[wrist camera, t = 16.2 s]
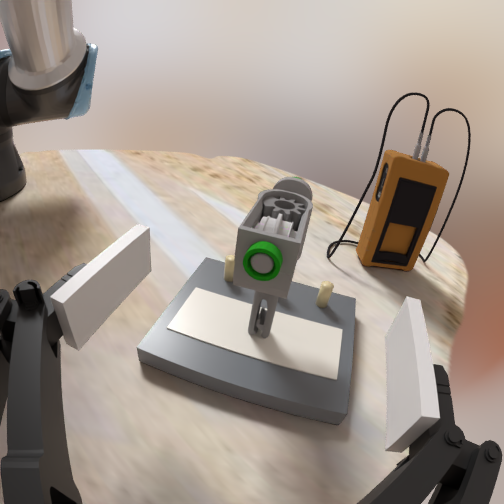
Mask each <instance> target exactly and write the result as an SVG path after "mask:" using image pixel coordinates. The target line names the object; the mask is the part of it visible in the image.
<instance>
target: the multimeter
mask: <svg viewBox="0 0 504 504" xmlns="http://www.w3.org/2000/svg"><path fill="white" fill-rule="evenodd" d="M410 95H419V96H422V97H424V98H425V99H426V100H427V109H426V113H425V117H424V121H423V126H422V130H421V133H420V135H419V139H418V143H417V144H416V146H415V150H414V154H413V156H410V155H406V154H403V153H399V152H397V151H393V150H386V151H385V153H384V157H383V161H382V164H381V168H380V172H379V176H378V179H377V183H376V186H375V190H374V193H373V197H372V200H371V203H370V207H369V210H368V213H367V217H366V220H365V223H364V227H363V230H362V233H361V236H360V240H359V242H355V241H350V240H342V239H343V237H344V235H345V233H346V231H347V230H348V228H349V226H350V224H351V222H352V220H353V218H354V216H355V214H356V212H357V210H358V208H359V206H360V204H361V202H362V200H363V198H364V196H365V194H366V192H367V190H368V188H369V186H370V185H371V183H372V181H373V179H374V176H375V174H376V171H377V168H378V165H379V161H380V158H381V154H382V150H383V146H384V141H385V136H386V132H387V127H388V123H389V120H390V117H391V115H392V112H393V110H394V109H395V107H396V106H397V104H398V103H399V102H400V101H401V100H402V99H404V98H405V97H407V96H410ZM428 111H429V100H428V98H427V97H426V96H425V95H423V94H421V93H408V94H406V95H404V96H402V97H401V98H399V99H398V100H397V101H396V103H395V104H394V105H393V107H392V109H391V111H390V113H389V115H388V118H387V121H386V125H385V129H384V134H383V139H382V144H381V148H380V152H379V156H378V159H377V163H376V166H375V170H374V172H373V175H372V178H371V179H370V181H369V183H368V185H367V187H366V189H365V191H364V193H363V195H362V197H361V199H360V201H359V203H358V205H357V207H356V209H355V211H354V213H353V215H352V217H351V219H350V221H349V223H348V225H347V226H346V228H345V230H344V232H343V234H342V236H341V237H340V239H339V241H335V242H333V243H331V244H330V245H329V247H328V250H327V257H328V258H330V257H331V256H332V255H333V253H334V252H335V250H336V249H337V247H338V246H339V244H340V242H351V243H355V244H358V246H357V248H356V252H357V254H358V256H359V258H360V260H361V262H362V264H363V265H364V266H368V267H370V266H379V267H387V268H395V269H402V270H403V271H410V270H412V269H413V267H414V265H415V263H416V260H417V258H418V256H420V257H421V258H422V260H423V261H424V262H426V261H427V259H428V258H429V256H430V254H431V253H432V251H433V249H434V247H435V245H436V243H437V241H438V239H439V237H440V235H441V233H442V231H443V229H444V227H445V224H446V222H447V220H448V217H449V215H450V213H451V210H452V208H453V205H454V203H455V200H456V198H457V195H458V192H459V190H460V187H461V184H462V181H463V177H464V174H465V170H466V166H467V161H468V156H469V150H470V135H471V134H470V126H469V123H468V120H467V118H466V117H465V115H464V114H463V113H462V112H460V111H458V110H456V109H452V108H447V109H443V110H441V111H439V112H438V113H437V114H436V115H435V116H434V118H433V120H432V124H431V128H430V133H429V135H428V138H427V141H426V145H425V147H424V149H423V152H422V156H421V159H420V158H418V156H419V153H420V149H421V141H422V137H423V131H424V127H425V123H426V119H427V115H428ZM445 111H455V112H458V113H459V114H461V115H462V116H463V117H464V118H465V120H466V123H467V126H468V134H469V135H468V136H469V137H468V138H469V139H468V150H467V156H466V162H465V166H464V170H463V174H462V177H461V180H460V184H459V187H458V190H457V192H456V195H455V198H454V200H453V203H452V205H451V208H450V210H449V212H448V215H447V217H446V219H445V222H444V224H443V226H442V228H441V231H440V233H439V235H438V237H437V239H436V241H435V243H434V245H433V247H432V249H431V251H430V252H429V254H428V256H427V257H426V259H425V260H424V258H423V257H422V256H421V255H420V251H421V249H422V247H423V244H424V242H425V239H426V237H427V235H428V233H429V231H430V228H431V226H432V223H433V220H434V218H435V215H436V212H437V210H438V206H439V203H440V200H441V198H442V195H443V192H444V189H445V186H446V183H447V180H448V176H449V173H448V171H447V170H445V169H444V168H442V167H441V166H439V165H438V164H436V163H434V162H432V161H431V162H430V161H427V160H426V158H427V155H428V151H429V143H430V140H431V134H432V130H433V125H434V121H435V119H436V117H437V116H438V115H439V114H441V113H442V112H445ZM335 243H337V244H336V246H335V248H334V249H333V251H332V252H331V254H330V255H329V250H330V247H331V246H332V245H333V244H335Z"/></svg>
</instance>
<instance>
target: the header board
mask: <svg viewBox="0 0 504 504" xmlns="http://www.w3.org/2000/svg"><path fill="white" fill-rule="evenodd" d="M234 259H235V256H233V255H229V256H227V257H226V260H225V262H221V261H218V260H214V259H211V258H207V257H206V258H205V259H204V261H203V262H202V263H201V264H200V266H199V267H198V268H197V270H196V271H195V272H194V273H193V275H192V276H191V277H190V278H189V280H188V281H187V282H186V284H185V285H184V286H183V287H182V289H181V290H180V291H179V293H178V294H177V295H176V296H175V298H174V299H173V300H172V302H171V303H170V304H169V305H168V307H167V308H166V309H165V311H164V312H163V313H162V315H161V316H160V317H159V319H158V320H157V321H156V322H155V324H154V325H153V326H152V328H151V329H150V330H149V332H148V333H147V334H146V336H145V337H144V338H143V340H142V341H141V342H140V344H139V345H138V346H137V351H138V357H139V361H141V362H143V363H145V364H147V365H150V366H152V367H154V368H157V369H159V370H162V371H164V372H166V373H169V374H171V375H174V376H176V377H179V378H181V379H184V380H187V381H189V382H192V383H195V384H197V385H200V386H203V387H205V388H208V389H211V390H214V391H217V392H220V393H223V394H226V395H229V396H232V397H235V398H238V399H241V400H244V401H247V402H251V403H254V404H257V405H260V406H264V407H267V408H271V409H274V410H278V411H282V412H285V413H289V414H293V415H297V416H301V417H305V418H309V419H314V420H318V421H322V422H327V423H331V424H336V425H339V424H340V423H341V422H342V420H343V419H344V418H345V416H346V415H347V410H348V402H349V392H350V382H351V371H352V359H353V345H354V327H355V304H356V299H355V298H352V297H348V296H344V295H340V294H337V293H333V292H332V290H333V287H334V285H333V284H332V283H331V282H328V281H324V282H322V284H321V287H320V289H318V288H314V287H311V286H307V285H303V284H300V283H296V282H293V281H291V285H290V289H289V292H288V296H287V299H285V298H281V297H279V298H278V302H277V306H276V310H275V314H274V318H273V322H272V326H271V330H270V334H269V336H268V337H267V338H265V339H264V338H263V337H262V336H261V335H262V331H261V330H260V329H259V328H258V330H257V333H256V334H254V335H249V333H248V326H249V320H250V315H251V309H252V304H253V298H254V293H255V290H251V289H247V288H244V287H240V286H236V285H234V284H233V273H234V265H235V261H234ZM263 305H265V310H267V301H266V300H264V299H263V300H262V302H261V307H260V311H261V309H262V306H263ZM259 314H260V312H259Z"/></svg>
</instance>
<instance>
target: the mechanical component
mask: <svg viewBox="0 0 504 504" xmlns="http://www.w3.org/2000/svg"><path fill="white" fill-rule="evenodd" d="M311 201H312V191H311V188H310V186H309V185H308V184H307V183H306V182H305V181H303V180H302V179H300V178H298V177H285V178H282V179H280V180H279V181H278V182H277V183H276V184H275V186H274V188H273V189H270V190H265V191H262V192H260V193H259V195H258V200H257V202H256V203H255V205H254V206H253V208H252V209H251V210H250V212H249V213H248V215H247V216H246V218H245V219H244V221H243V222H242V224H241V225H240V227H239V228H238V235H237V243H236V251H235V259H234V261H235V265H234V273H233V284H234V285H236V286H240V287H244V288H247V289H251V290H255V293H254V298H253V304H252V309H251V315H250V320H249V326H248V333H249V335H254V334H256V333H257V330H258V328H259V329H260V330H261V331H262V335H261V336H262V337H263V338H264V339H265V338H267V337H268V336H269V334H270V330H271V326H272V322H273V318H274V314H275V310H276V306H277V302H278V298H279V297H281V298H285V299H287V296H288V292H289V289H290V285H291V281H292V278H293V274H294V270H295V266H296V262H297V260H298V259H299V258H300V257H301V253H302V249H303V245H304V241H305V237H306V233H307V229H308V224H309V220H310V216H311V212H312V208H313V204H312V202H311ZM263 299H264V300H266V301H267V310H265V305H263V306H262V309H261V311H260V307H261V302H262V300H263ZM259 312H260V314H259Z"/></svg>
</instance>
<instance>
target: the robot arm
mask: <svg viewBox="0 0 504 504" xmlns="http://www.w3.org/2000/svg"><path fill="white" fill-rule="evenodd" d="M0 20H1V24H2V27H3V30H4V33H5V36H6V39H7V42H8V44H9V47H10V49H6V50H0V201H2V200H4V199H6V198H8V197H10V196H12V195H13V194H15V193H16V192H18V191H19V190H20V189H22V188H23V187H24V185H25V184H26V173H25V168H24V166H23V163H22V161H21V159H20V156H19V154H18V151H17V149H16V147H15V144H14V141H13V133H12V126H17V125H22V124H28V123H35V122H41V121H48V120H56V119H69V118H71V117H78V116H83V115H85V114H86V113H87V112H88V111H89V109H90V102H91V93H92V85H93V78H94V71H95V64H96V58H97V51H98V47H97V45H93V44H86V41H85V38H84V36H83V34H82V33H81V32H80V31H78V30H76V29H75V28H73V17H72V1H71V0H0ZM150 272H151V255H150V228H149V227H146V226H143V225H139V224H137V225H136V226H134V227H133V228H132V229H130V230H129V231H128V232H127V233H125V234H124V235H123V236H121V237H120V238H119V239H118V240H116V241H115V242H114V243H113V244H111V245H110V246H109V247H108V248H106V249H105V250H104V251H103V252H102V253H100V254H99V255H98V256H97V257H95V258H94V259H93V260H92V261H91V262H89V263H88V264H85V263H83V264H81V265H78V266H76V267H74V268H73V269H72V270H70V271H69V272H68V273H67V275H65V276H63V277H62V278H61V280H59V281H58V282H56V283H55V284H54V285H53V286H52V287H51V288H49V289H48V290H47V291H46V292H45V293H44V294H42V291H41V288H40V284H39V283H38V282H37V281H35V280H25V281H22V282H20V283H19V284H17V285H16V286H15V288H14V290H13V293H14V296H15V299H16V300H12V299H11V298H10V295H9V293H8V292H7V291H6V290H3V289H0V424H1V420H2V416H3V412H4V408H5V404H6V400H7V397H8V400H7V445H8V453H7V456H5V457H3V458H2V460H1V479H2V489H3V497H4V504H82V500H81V496H80V493H79V491H78V489H77V487H76V485H75V483H74V480H73V477H72V472H71V466H70V460H69V454H68V448H67V440H66V433H65V424H64V414H63V403H62V388H61V360H60V341H59V339H60V338H61V337H62V336H64V338H65V341H66V344H68V345H70V346H71V347H73V348H75V349H77V350H78V351H79V350H80V349H81V348H82V346H83V345H84V344H85V343H86V342H87V341H88V340H89V338H90V337H91V336H92V335H93V334H94V333H95V332H96V330H97V329H98V328H99V327H100V326H101V325H102V324H103V323H104V321H105V320H106V319H107V318H108V317H109V316H110V315H111V314H112V313H113V311H114V310H115V309H116V308H117V307H118V306H119V305H120V304H121V303H122V302H123V301H124V299H125V298H126V297H127V296H128V295H129V294H130V293H131V292H132V291H133V290H134V289H135V288H136V287H137V285H138V284H139V283H140V282H141V281H142V280H143V279H144V278H145V277H146V276H147V275H148V274H149V273H150ZM385 345H386V374H387V415H386V443H385V451H392V452H401V453H402V452H403V451H404V450H405V449H407V448H408V447H409V455H408V456H407V457H406V458H404V459H403V460H402V461H400V462H399V463H398V464H396V465H397V467H396V468H395V469H394V470H393V471H392V472H391V473H390V474H389V475H388V476H387V477H386V478H385V479H384V480H383V481H382V482H381V483H379V484H378V485H377V486H376V487H375V488H374V489H373V490H372V491H371V492H370V493H369V494H367V495H366V496H365V497H364V498H363V499H362V500H361V501H359V502H358V503H357V504H421V503H422V502H423V501H424V500H425V498H426V497H427V496H428V495H429V494H430V492H431V491H432V490H433V489H434V487H435V486H436V485H437V486H436V488H435V491H434V493H433V494H432V497H431V499H430V500H429V502H428V504H489V502H490V498H491V496H492V493H493V489H494V486H495V483H496V480H497V476H498V472H499V469H500V465H501V461H502V452H501V449H500V447H499V445H498V444H497V443H495V442H494V441H491V440H489V441H485V442H484V443H483V444H481V445H480V446H479V445H477V444H474V443H472V442H470V441H467V440H466V439H465V436H464V433H463V431H462V430H461V429H460V428H459V427H458V426H456V425H455V421H454V413H453V405H452V398H451V396H450V394H451V392H450V387H449V386H450V385H449V379H448V375H447V373H446V371H445V370H444V368H443V366H441V365H436V364H433V361H432V355H431V349H430V344H429V338H428V333H427V328H426V324H425V319H424V314H423V310H422V306H421V301H420V300H419V299H415V298H411V297H408V296H406V298H405V300H404V302H403V304H402V306H401V308H400V310H399V312H398V314H397V316H396V318H395V320H394V321H393V323H392V325H391V327H390V329H389V331H388V332H387V334H386V336H385Z"/></svg>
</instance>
